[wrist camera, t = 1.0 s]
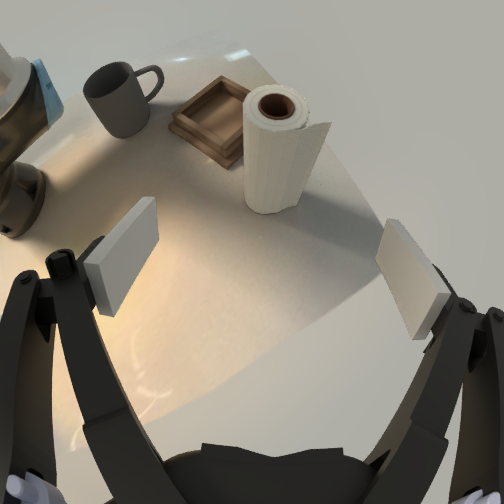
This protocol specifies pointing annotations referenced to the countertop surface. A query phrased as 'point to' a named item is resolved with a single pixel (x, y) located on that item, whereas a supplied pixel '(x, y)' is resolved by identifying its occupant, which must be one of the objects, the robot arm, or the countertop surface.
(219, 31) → the countertop surface
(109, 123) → the mug
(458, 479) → the robot arm
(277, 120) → the paper towel roll
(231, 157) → the wooden tray
